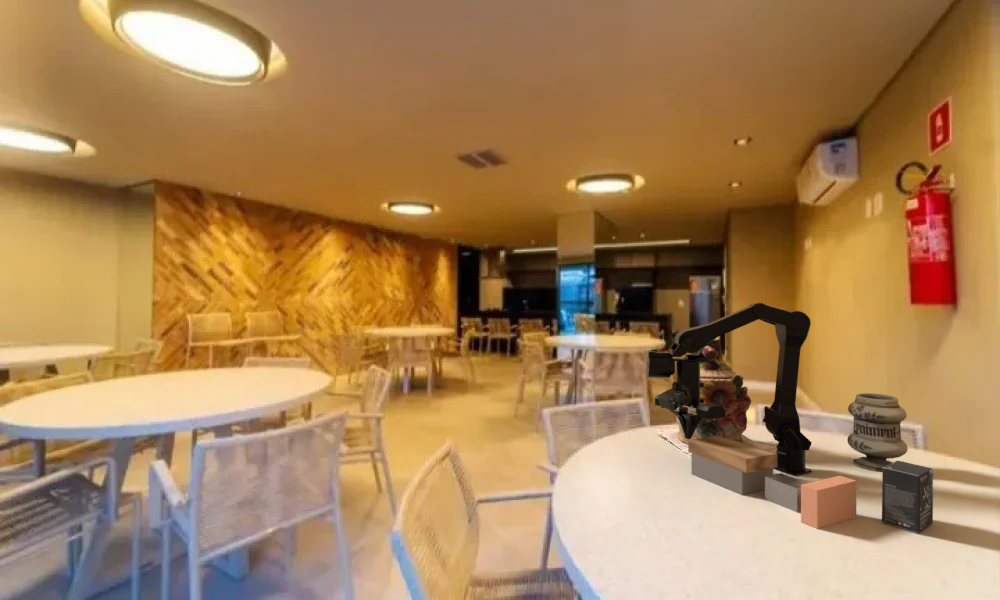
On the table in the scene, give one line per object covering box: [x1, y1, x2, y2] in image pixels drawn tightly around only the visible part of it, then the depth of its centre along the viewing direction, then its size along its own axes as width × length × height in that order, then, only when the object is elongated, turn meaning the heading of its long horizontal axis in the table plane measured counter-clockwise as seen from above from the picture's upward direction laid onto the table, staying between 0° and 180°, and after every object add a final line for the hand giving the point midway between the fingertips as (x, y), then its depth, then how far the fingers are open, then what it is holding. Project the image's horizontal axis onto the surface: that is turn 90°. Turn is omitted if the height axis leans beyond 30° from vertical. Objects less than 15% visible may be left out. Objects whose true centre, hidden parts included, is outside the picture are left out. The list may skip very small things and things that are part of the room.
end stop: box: [800, 475, 857, 530], centre depth 91 cm, size 12×3×7 cm, turn 114°
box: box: [881, 460, 934, 534], centre depth 90 cm, size 8×6×11 cm
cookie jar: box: [656, 336, 776, 457], centre depth 141 cm, size 25×25×32 cm
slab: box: [688, 436, 777, 473], centre depth 111 cm, size 10×16×3 cm, turn 24°
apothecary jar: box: [846, 392, 909, 472], centre depth 122 cm, size 12×12×18 cm
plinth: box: [691, 454, 774, 496], centre depth 111 cm, size 10×14×5 cm
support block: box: [764, 473, 808, 514], centre depth 98 cm, size 5×7×5 cm
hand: (688, 438), depth 123 cm, fingers closed
